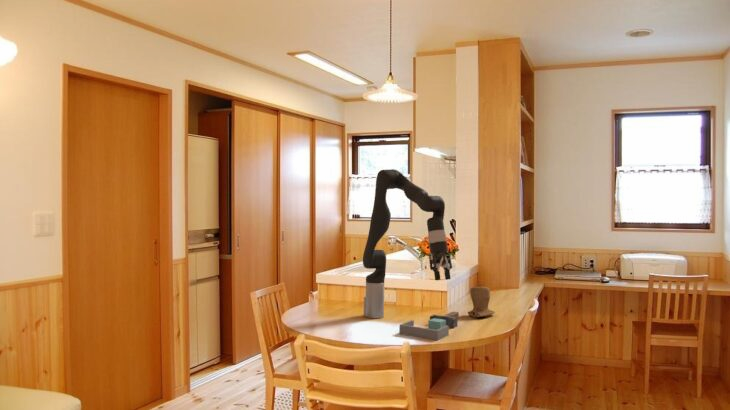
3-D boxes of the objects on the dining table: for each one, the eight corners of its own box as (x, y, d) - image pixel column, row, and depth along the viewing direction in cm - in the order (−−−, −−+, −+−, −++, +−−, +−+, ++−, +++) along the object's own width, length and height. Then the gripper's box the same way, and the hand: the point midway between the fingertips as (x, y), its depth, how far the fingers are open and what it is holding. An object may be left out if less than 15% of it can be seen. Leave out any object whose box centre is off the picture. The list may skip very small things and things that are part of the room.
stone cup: (478, 311, 301) (479, 283, 300) (498, 315, 292) (498, 286, 292) (461, 315, 290) (461, 286, 290) (480, 319, 282) (481, 289, 281)
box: (399, 333, 251) (399, 324, 251) (411, 328, 260) (411, 320, 260) (437, 340, 241) (437, 330, 241) (448, 334, 250) (448, 325, 250)
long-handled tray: (429, 324, 269) (429, 316, 269) (444, 318, 283) (444, 310, 283) (453, 328, 263) (453, 319, 263) (467, 321, 277) (467, 313, 277)
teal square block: (428, 329, 261) (428, 320, 261) (434, 326, 266) (434, 318, 266) (440, 331, 258) (440, 322, 258) (445, 328, 263) (446, 319, 263)
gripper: (438, 243, 251) (443, 280, 248) (421, 242, 240) (426, 281, 237) (453, 240, 247) (459, 278, 244) (436, 239, 235) (442, 279, 233)
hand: (443, 279), depth 240 cm, fingers open, 8 cm apart
